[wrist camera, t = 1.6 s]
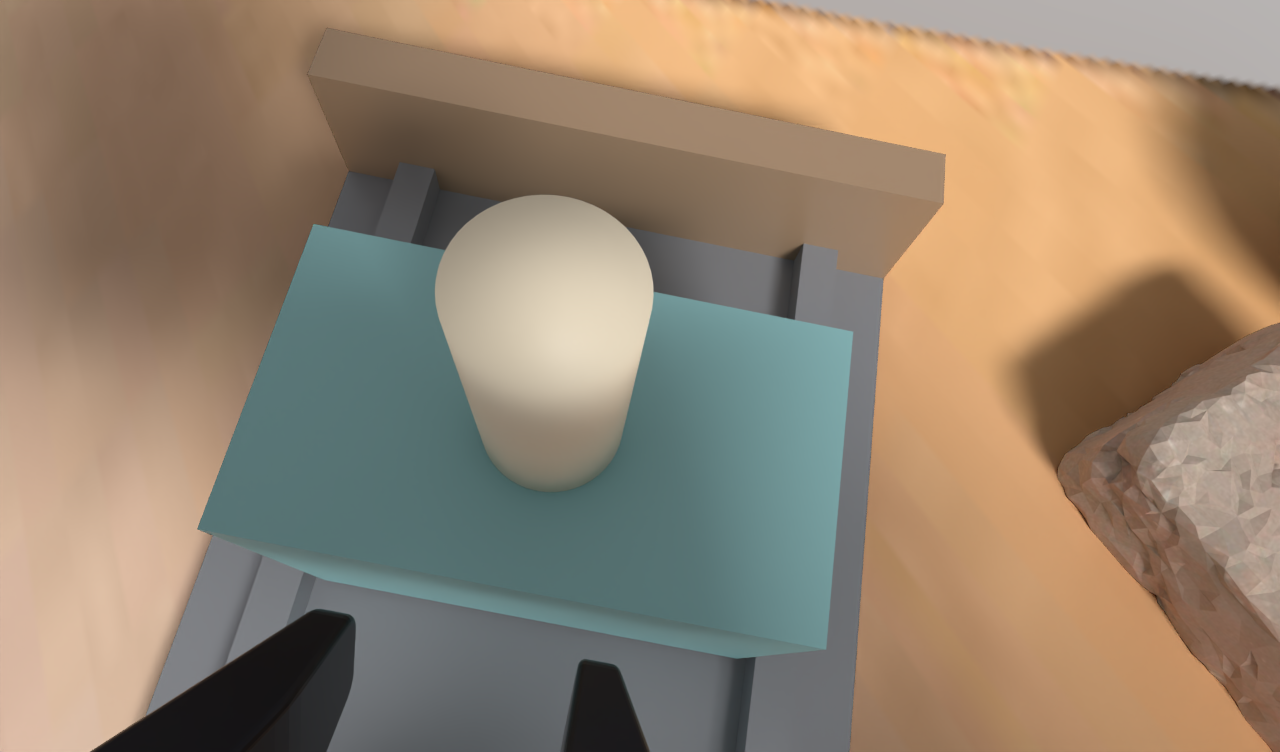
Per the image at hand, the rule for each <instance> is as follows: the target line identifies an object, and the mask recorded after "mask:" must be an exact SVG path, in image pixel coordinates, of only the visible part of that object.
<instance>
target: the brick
mask: <svg viewBox="0 0 1280 752" xmlns="http://www.w3.org/2000/svg"><path fill="white" fill-rule="evenodd" d="M1180 375H1181V376H1180V377H1179V378H1178V379H1177V381H1176V382H1174V383H1173V384H1172V387H1170V388H1168V389H1166V390H1165V391H1163V392H1161V393H1160V394H1158V395H1156V396H1155V397H1153V398H1152V401H1151V402H1149V403H1147V404H1146V405H1144V406H1141V407H1140V408H1139V410H1137V411H1136V412H1134V413H1127V417H1122V418H1121V419H1119V420H1118V421H1116V422H1115V423H1114V424H1113V425H1111V426H1109V427H1104V428H1101V429H1099V430H1097V431H1095V432H1093V433H1091V434H1089V435H1087V436H1086V437H1085V438H1084V439H1083V440H1082V441H1081V443H1080V444H1078V445H1077V446H1076V447H1074V448H1073V449H1071V450H1070V451H1069V452H1067V453H1066V454H1065V455H1064V457H1063V459H1062V461H1061V463H1060V465H1059V467H1058V474H1057V477H1058V480H1059V481H1060V483H1061V484H1062V485H1063V487H1064V490H1065V494H1066V496H1067V497H1068V498H1069V499H1070V500H1071V501H1072V502H1073V503H1074V505H1075V506H1076V507H1077V508H1078V510H1079V511H1080V512H1081V513H1082V515H1083V516H1084V517H1085V519H1086V521H1087V523H1088V525H1089V527H1090V529H1091V530H1092V532H1093V533H1094V534H1095V535H1096V536H1097V537H1098V539H1099V540H1100V541H1101V542H1102V543H1103V544H1104V545H1105V546H1106V548H1107V549H1108V550H1109V551H1110V552H1111V553H1112V555H1113V556H1114V557H1115V558H1116V559H1117V560H1118V562H1119V563H1120V564H1121V565H1122V566H1123V567H1124V568H1125V570H1126V571H1127V572H1128V573H1129V574H1130V575H1131V576H1132V577H1133V578H1134V579H1135V580H1136V581H1137V582H1138V583H1140V584H1141V585H1142V586H1143V587H1145V588H1146V589H1147V590H1149V591H1150V592H1151V593H1153V594H1155V595H1157V602H1158V604H1159V605H1160V606H1161V607H1162V609H1163V610H1164V611H1165V613H1166V614H1167V616H1168V618H1169V619H1170V621H1171V623H1172V624H1173V626H1174V627H1175V629H1176V630H1177V632H1178V634H1179V635H1180V637H1181V638H1182V640H1183V641H1184V642H1185V644H1186V645H1187V647H1188V648H1189V649H1190V651H1191V652H1192V654H1193V655H1194V656H1196V657H1197V658H1198V659H1199V660H1200V661H1201V662H1202V663H1203V664H1204V665H1205V666H1206V668H1207V670H1208V671H1209V672H1210V673H1211V674H1212V675H1213V676H1214V677H1215V678H1216V679H1217V680H1219V681H1220V682H1221V683H1222V684H1223V685H1224V686H1225V687H1226V689H1227V690H1228V692H1229V693H1230V695H1231V696H1232V698H1233V699H1234V700H1235V702H1236V703H1237V705H1238V707H1239V709H1240V711H1241V713H1242V715H1243V716H1244V718H1245V720H1246V721H1247V722H1248V723H1249V724H1250V725H1251V726H1252V728H1253V729H1254V730H1255V731H1256V732H1257V733H1258V734H1259V735H1260V737H1261V738H1262V739H1263V740H1264V741H1265V742H1266V743H1267V744H1268V746H1269V747H1270V748H1271V750H1272V751H1273V752H1280V323H1277V324H1274V325H1270V326H1268V327H1266V328H1263V329H1261V330H1259V331H1256V332H1254V333H1252V334H1249V335H1247V336H1246V337H1244V338H1242V339H1240V340H1239V341H1237V342H1235V343H1234V344H1232V345H1231V346H1229V347H1227V348H1226V349H1224V350H1222V351H1221V352H1219V353H1218V354H1216V355H1214V356H1213V357H1211V358H1210V359H1208V360H1207V361H1205V362H1204V363H1202V364H1196V365H1194V366H1193V367H1191V368H1189V369H1187V370H1185V371H1184V372H1183V373H1181V374H1180Z"/></svg>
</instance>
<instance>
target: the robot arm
mask: <svg viewBox="0 0 1280 752" xmlns="http://www.w3.org/2000/svg"><path fill="white" fill-rule="evenodd" d="M355 639H356V623H355V619H354V618H353V616H351V615H350V614H346V613H341V612H335V611H330V610H325V609H314V610H312V611H309V612H307V613H306V614H304V615H303V616H301V617H300V618H298V619H297V620H295V621H293V622H292V623H290V624H289V625H287V626H286V627H284V628H282V629H281V630H279V631H278V632H276V633H275V634H273V635H272V636H270V637H268V638H267V639H265V640H264V641H262V642H261V643H259V644H257V645H256V646H254V647H253V648H251V649H250V650H248V651H247V652H245V653H243V654H242V655H240V656H239V657H237V658H236V659H234V660H232V661H231V662H229V663H228V664H226V665H225V666H223V667H222V668H220V669H218V670H217V671H215V672H214V673H212V674H211V675H209V676H208V677H206V678H204V679H203V680H201V681H200V682H198V683H197V684H195V685H193V686H192V687H190V688H189V689H187V690H186V691H184V692H183V693H181V694H179V695H178V696H176V697H175V698H173V699H172V700H170V701H168V702H167V703H165V704H164V705H162V706H161V707H159V708H158V709H156V710H154V711H153V712H151V713H150V714H148V715H147V716H145V717H143V718H142V719H140V720H139V721H137V722H136V723H134V724H133V725H131V726H129V727H128V728H126V729H125V730H123V731H122V732H120V733H119V734H117V735H115V736H114V737H112V738H111V739H109V740H108V741H106V742H104V743H103V744H101V745H100V746H98V747H97V748H95V749H94V750H92V751H90V752H327V749H328V747H329V744H330V742H331V739H332V737H333V734H334V732H335V729H336V727H337V724H338V722H339V719H340V717H341V714H342V712H343V709H344V707H345V704H346V702H347V699H348V696H349V693H350V690H351V686H352V681H353V675H354V658H355ZM560 752H650V750H649V747H648V744H647V742H646V739H645V736H644V734H643V731H642V728H641V725H640V723H639V720H638V717H637V714H636V712H635V709H634V706H633V704H632V701H631V698H630V695H629V693H628V690H627V687H626V684H625V682H624V679H623V676H622V674H621V671H620V669H619V668H618V667H617V666H616V665H614V664H610V663H605V662H599V661H594V660H589V659H583V660H581V661H580V662H579V663H578V666H577V671H576V676H575V681H574V685H573V690H572V695H571V700H570V705H569V710H568V715H567V720H566V725H565V730H564V736H563V741H562V746H561V751H560Z"/></svg>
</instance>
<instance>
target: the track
mask: <svg viewBox="0 0 1280 752" xmlns="http://www.w3.org/2000/svg"><path fill="white" fill-rule="evenodd" d="M307 75H308V77H309V79H310V82H311V84H312V86H313V89H314V91H315V93H316V96H317V98H318V100H319V103H320V105H321V107H322V110H323V112H324V114H325V117H326V119H327V121H328V124H329V126H330V128H331V131H332V133H333V135H334V138H335V140H336V142H337V145H338V147H339V149H340V152H341V154H342V156H343V159H344V161H345V163H346V166H347V168H348V170H349V172H348V175H347V177H346V180H345V183H344V185H343V188H342V191H341V193H340V196H339V199H338V201H337V204H336V207H335V209H334V212H333V215H332V217H331V220H330V223H329V226H328V227H331V228H336V229H342V230H347V231H352V232H357V233H362V234H367V235H372V236H377V237H382V238H387V239H392V240H397V241H402V242H407V243H412V244H417V245H422V246H427V247H432V248H437V249H442V250H446V248H447V247H448V245H449V243H450V242H451V240H452V239H453V238H454V236H455V235H456V234H457V232H458V231H459V230H460V229H461V228H462V227H463V226H464V225H465V224H466V223H467V222H469V221H470V220H471V219H473V218H474V217H475V216H476V215H478V214H480V213H481V212H483V211H484V210H486V209H488V208H490V207H492V206H494V205H496V204H499V203H501V202H504V201H507V200H510V199H513V198H518V197H523V196H530V195H558V196H565V197H570V198H574V199H578V200H581V201H584V202H587V203H589V204H592V205H594V206H596V207H598V208H600V209H602V210H604V211H605V212H607V213H608V214H610V215H611V216H613V217H614V218H616V219H617V220H618V221H619V222H620V223H621V224H623V225H624V226H625V227H626V228H627V229H628V230H629V232H630V233H631V234H632V235H633V236H634V237H635V239H636V240H637V242H638V243H639V245H640V246H641V248H642V250H643V252H644V254H645V256H646V258H647V260H648V264H649V267H650V270H651V274H652V280H653V292H657V293H662V294H667V295H672V296H677V297H682V298H687V299H692V300H697V301H702V302H707V303H712V304H717V305H722V306H727V307H732V308H737V309H742V310H747V311H752V312H757V313H762V314H767V315H772V316H777V317H782V318H787V319H792V320H797V321H802V322H807V323H812V324H817V325H822V326H827V327H832V328H837V329H842V330H847V331H852V332H853V340H852V352H851V364H850V375H849V387H848V399H847V411H846V422H845V434H844V446H843V458H842V469H841V481H840V493H839V505H838V516H837V528H836V540H835V552H834V563H833V575H832V587H831V599H830V610H829V622H828V634H827V645H826V650H818V651H808V652H798V653H788V654H778V655H768V656H758V657H749V658H739V659H736V658H730V657H725V656H720V655H715V654H709V653H704V652H699V651H694V650H688V649H683V648H678V647H673V646H668V645H662V644H657V643H652V642H647V641H641V640H636V639H631V638H626V637H620V636H615V635H610V634H605V633H599V632H594V631H589V630H584V629H578V628H573V627H568V626H563V625H557V624H552V623H547V622H542V621H537V620H531V619H526V618H521V617H516V616H510V615H505V614H500V613H495V612H489V611H484V610H479V609H474V608H468V607H463V606H458V605H453V604H447V603H442V602H437V601H432V600H427V599H421V598H416V597H411V596H406V595H400V594H395V593H390V592H385V591H379V590H374V589H369V588H364V587H358V586H353V585H348V584H343V583H337V582H332V581H327V580H323V579H321V578H318V577H316V576H313V575H311V574H308V573H306V572H303V571H301V570H298V569H296V568H293V567H291V566H288V565H286V564H283V563H281V562H278V561H276V560H273V559H271V558H268V557H266V556H263V555H261V554H258V553H256V552H253V551H251V550H248V549H246V548H243V547H241V546H238V545H236V544H233V543H231V542H228V541H225V540H223V539H220V538H218V537H215V536H213V537H212V539H211V542H210V545H209V547H208V550H207V553H206V555H205V558H204V561H203V563H202V566H201V569H200V571H199V574H198V577H197V579H196V582H195V585H194V588H193V590H192V593H191V596H190V598H189V601H188V604H187V606H186V609H185V612H184V614H183V617H182V620H181V622H180V625H179V628H178V630H177V633H176V636H175V638H174V641H173V644H172V647H171V649H170V652H169V655H168V657H167V660H166V663H165V665H164V668H163V671H162V673H161V676H160V679H159V681H158V684H157V687H156V689H155V692H154V695H153V697H152V700H151V703H150V705H149V708H148V711H147V714H146V716H147V715H148V714H150V713H151V712H153V711H154V710H156V709H158V708H159V707H161V706H162V705H164V704H165V703H167V702H168V701H170V700H172V699H173V698H175V697H176V696H178V695H179V694H181V693H183V692H184V691H186V690H187V689H189V688H190V687H192V686H193V685H195V684H197V683H198V682H200V681H201V680H203V679H204V678H206V677H208V676H209V675H211V674H212V673H214V672H215V671H217V670H218V669H220V668H222V667H223V666H225V665H226V664H228V663H229V662H231V661H232V660H234V659H236V658H237V657H239V656H240V655H242V654H243V653H245V652H247V651H248V650H250V649H251V648H253V647H254V646H256V645H257V644H259V643H261V642H262V641H264V640H265V639H267V638H268V637H270V636H272V635H273V634H275V633H276V632H278V631H279V630H281V629H282V628H284V627H286V626H287V625H289V624H290V623H292V622H293V621H295V620H297V619H298V618H300V617H301V616H303V615H304V614H306V613H307V612H309V611H312V610H314V609H325V610H330V611H335V612H341V613H346V614H350V615H351V616H353V618H354V619H355V623H356V639H355V658H354V675H353V681H352V686H351V690H350V693H349V696H348V699H347V702H346V704H345V707H344V709H343V712H342V714H341V717H340V719H339V722H338V724H337V727H336V729H335V732H334V734H333V737H332V739H331V742H330V744H329V747H328V749H327V752H560V751H561V746H562V741H563V736H564V730H565V725H566V720H567V715H568V710H569V705H570V700H571V695H572V690H573V685H574V681H575V676H576V671H577V666H578V663H579V662H580V661H581V660H583V659H589V660H594V661H599V662H605V663H610V664H614V665H616V666H617V667H618V668H619V669H620V671H621V674H622V676H623V679H624V682H625V684H626V687H627V690H628V693H629V695H630V698H631V701H632V704H633V706H634V709H635V712H636V714H637V717H638V720H639V723H640V725H641V728H642V731H643V734H644V736H645V739H646V742H647V744H648V747H649V750H650V752H849V751H850V737H851V723H852V709H853V696H854V682H855V668H856V654H857V640H858V626H859V612H860V598H861V584H862V570H863V556H864V542H865V528H866V514H867V500H868V486H869V472H870V458H871V445H872V431H873V417H874V403H875V389H876V375H877V361H878V347H879V333H880V319H881V305H882V291H883V278H884V277H885V276H886V275H887V273H888V272H889V271H890V270H891V268H892V267H893V266H894V265H895V264H896V262H897V261H898V260H899V259H900V257H901V256H902V255H903V254H904V252H905V251H906V250H907V249H908V247H909V246H910V245H911V244H912V242H913V241H914V240H915V239H916V237H917V236H918V235H919V234H920V232H921V231H922V230H923V229H924V227H925V226H926V225H927V224H928V222H929V221H930V220H931V219H932V217H933V216H934V215H935V214H936V212H937V211H938V210H939V209H940V207H941V206H942V205H943V203H944V180H945V156H946V154H941V153H936V152H931V151H926V150H921V149H916V148H911V147H907V146H902V145H897V144H892V143H887V142H882V141H877V140H872V139H867V138H863V137H858V136H853V135H848V134H843V133H838V132H833V131H828V130H823V129H819V128H814V127H809V126H804V125H799V124H794V123H789V122H784V121H779V120H775V119H770V118H765V117H760V116H755V115H750V114H745V113H740V112H735V111H731V110H726V109H721V108H716V107H711V106H706V105H701V104H696V103H691V102H687V101H682V100H677V99H672V98H667V97H662V96H657V95H652V94H647V93H643V92H638V91H633V90H628V89H623V88H618V87H613V86H608V85H603V84H599V83H594V82H589V81H584V80H579V79H574V78H569V77H564V76H559V75H555V74H550V73H545V72H540V71H535V70H530V69H525V68H520V67H515V66H511V65H506V64H501V63H496V62H491V61H486V60H481V59H476V58H471V57H467V56H462V55H457V54H452V53H447V52H442V51H437V50H432V49H427V48H423V47H418V46H413V45H408V44H403V43H398V42H393V41H388V40H383V39H379V38H374V37H369V36H364V35H359V34H354V33H349V32H344V31H339V30H335V29H330V28H326V31H325V33H324V36H323V38H322V40H321V43H320V45H319V48H318V50H317V52H316V55H315V57H314V60H313V62H312V64H311V67H310V69H309V71H308V74H307Z"/></svg>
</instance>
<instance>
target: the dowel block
mask: <svg viewBox="0 0 1280 752" xmlns="http://www.w3.org/2000/svg"><path fill="white" fill-rule="evenodd" d="M852 340H853V332H852V331H847V330H842V329H837V328H832V327H827V326H822V325H817V324H812V323H807V322H802V321H797V320H792V319H787V318H782V317H777V316H772V315H767V314H762V313H757V312H752V311H747V310H742V309H737V308H732V307H727V306H722V305H717V304H712V303H707V302H702V301H697V300H692V299H687V298H682V297H677V296H672V295H667V294H662V293H657V292H653V280H652V274H651V270H650V267H649V264H648V260H647V258H646V256H645V254H644V252H643V250H642V248H641V246H640V245H639V243H638V242H637V240H636V239H635V237H634V236H633V235H632V234H631V233H630V232H629V230H628V229H627V228H626V227H625V226H624V225H623V224H621V223H620V222H619V221H618V220H617V219H616V218H614V217H613V216H611V215H610V214H608V213H607V212H605V211H604V210H602V209H600V208H598V207H596V206H594V205H592V204H589V203H587V202H584V201H581V200H578V199H574V198H570V197H565V196H558V195H530V196H523V197H518V198H513V199H510V200H507V201H504V202H501V203H499V204H496V205H494V206H492V207H490V208H488V209H486V210H484V211H483V212H481V213H480V214H478V215H476V216H475V217H474V218H473V219H471V220H470V221H469V222H467V223H466V224H465V225H464V226H463V227H462V228H461V229H460V230H459V231H458V232H457V234H456V235H455V236H454V238H453V239H452V240H451V242H450V243H449V245H448V247H447V248H446V250H442V249H437V248H432V247H427V246H422V245H417V244H412V243H407V242H402V241H397V240H392V239H387V238H382V237H377V236H372V235H367V234H362V233H357V232H352V231H347V230H342V229H336V228H331V227H326V226H321V225H316V224H313V227H312V229H311V232H310V235H309V237H308V240H307V243H306V245H305V248H304V250H303V253H302V256H301V258H300V261H299V264H298V266H297V269H296V271H295V274H294V277H293V279H292V282H291V285H290V287H289V290H288V292H287V295H286V298H285V300H284V303H283V306H282V308H281V311H280V313H279V316H278V319H277V321H276V324H275V327H274V329H273V332H272V334H271V337H270V340H269V342H268V345H267V347H266V350H265V353H264V355H263V358H262V361H261V363H260V366H259V368H258V371H257V374H256V376H255V379H254V382H253V384H252V387H251V389H250V392H249V395H248V397H247V400H246V403H245V405H244V408H243V410H242V413H241V416H240V418H239V421H238V424H237V426H236V429H235V431H234V434H233V437H232V439H231V442H230V445H229V447H228V450H227V452H226V455H225V458H224V460H223V463H222V466H221V468H220V471H219V473H218V476H217V479H216V481H215V484H214V486H213V489H212V492H211V494H210V497H209V500H208V502H207V505H206V507H205V510H204V513H203V515H202V518H201V521H200V523H199V526H198V528H197V529H198V530H200V531H203V532H205V533H208V534H210V535H213V536H215V537H218V538H220V539H223V540H225V541H228V542H231V543H233V544H236V545H238V546H241V547H243V548H246V549H248V550H251V551H253V552H256V553H258V554H261V555H263V556H266V557H268V558H271V559H273V560H276V561H278V562H281V563H283V564H286V565H288V566H291V567H293V568H296V569H298V570H301V571H303V572H306V573H308V574H311V575H313V576H316V577H318V578H321V579H323V580H327V581H332V582H337V583H343V584H348V585H353V586H358V587H364V588H369V589H374V590H379V591H385V592H390V593H395V594H400V595H406V596H411V597H416V598H421V599H427V600H432V601H437V602H442V603H447V604H453V605H458V606H463V607H468V608H474V609H479V610H484V611H489V612H495V613H500V614H505V615H510V616H516V617H521V618H526V619H531V620H537V621H542V622H547V623H552V624H557V625H563V626H568V627H573V628H578V629H584V630H589V631H594V632H599V633H605V634H610V635H615V636H620V637H626V638H631V639H636V640H641V641H647V642H652V643H657V644H662V645H668V646H673V647H678V648H683V649H688V650H694V651H699V652H704V653H709V654H715V655H720V656H725V657H730V658H736V659H739V658H749V657H758V656H768V655H778V654H788V653H798V652H808V651H818V650H826V645H827V634H828V622H829V610H830V599H831V587H832V575H833V563H834V552H835V540H836V528H837V516H838V505H839V493H840V481H841V469H842V458H843V446H844V434H845V422H846V411H847V399H848V387H849V375H850V364H851V352H852Z"/></svg>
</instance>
